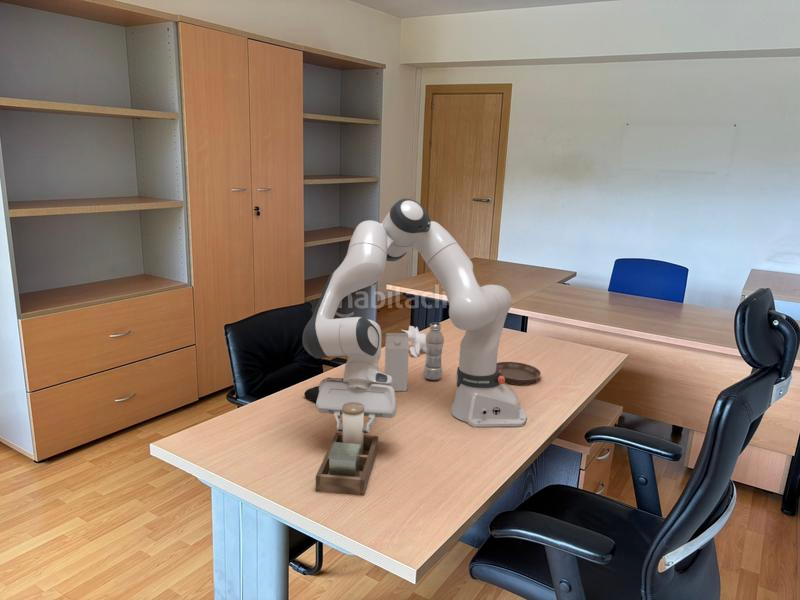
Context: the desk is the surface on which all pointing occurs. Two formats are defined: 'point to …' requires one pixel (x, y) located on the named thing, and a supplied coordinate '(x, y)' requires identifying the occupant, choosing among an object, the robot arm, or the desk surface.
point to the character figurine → (416, 340)
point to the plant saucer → (518, 372)
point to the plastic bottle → (434, 352)
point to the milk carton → (397, 359)
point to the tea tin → (344, 459)
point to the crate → (345, 482)
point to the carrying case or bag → (312, 393)
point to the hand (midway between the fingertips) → (352, 431)
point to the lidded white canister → (353, 424)
